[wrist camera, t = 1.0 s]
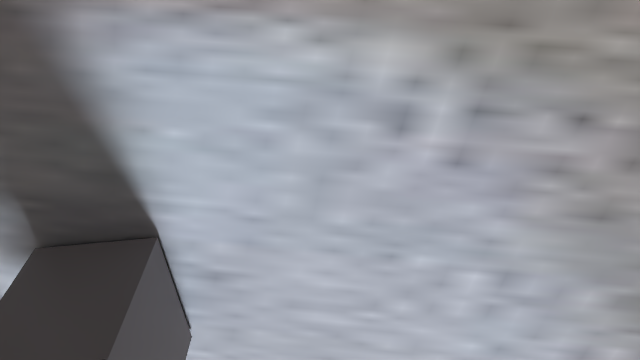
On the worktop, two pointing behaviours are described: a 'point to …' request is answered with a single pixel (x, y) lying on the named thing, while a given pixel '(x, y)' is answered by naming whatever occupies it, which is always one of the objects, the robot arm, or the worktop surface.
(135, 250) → the plug
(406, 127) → the worktop surface
